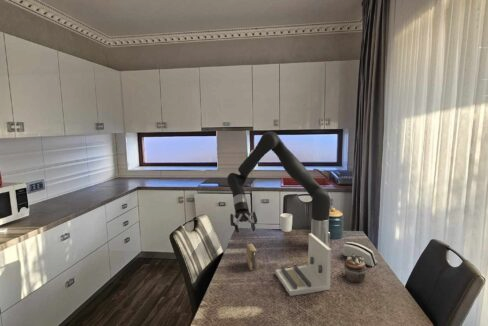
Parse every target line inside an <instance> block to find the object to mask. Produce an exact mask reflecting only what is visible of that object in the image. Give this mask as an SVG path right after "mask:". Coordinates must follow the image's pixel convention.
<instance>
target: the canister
mask: <svg viewBox="0 0 488 326" xmlns="http://www.w3.org/2000/svg"><path fill="white" fill-rule="evenodd" d="M344 219H345V217H344V215H343V213H342V211H340V210H337V209H336V208H335V207H331V208H330V213H329V232H330V240H340V239H342V238H344V237H343V236H344V224H345V222H344Z"/></svg>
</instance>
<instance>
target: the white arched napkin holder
mask: <svg viewBox="0 0 488 326" xmlns="http://www.w3.org/2000/svg"><path fill="white" fill-rule="evenodd" d="M342 254H343V256H345V257H346V256H347V257H346V258H348V257H349V256H351V255H352V254H354V255H355V256H362V258H364V260H363V261H364V263H365V265H366V264H367V266H369V265H370V267H371V266H372V268H373V266H374V267H375V265H377V264H376V263H379V262H378V260H376V256H375V253H374V251H373V250H371V249H370V248H368V247H367V246H364V245H363V244H360V243H357V242H352V241H347V242H345V244H343V245H342Z"/></svg>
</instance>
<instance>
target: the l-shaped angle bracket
mask: <svg viewBox="0 0 488 326" xmlns="http://www.w3.org/2000/svg"><path fill="white" fill-rule="evenodd" d="M307 244H308V249H307V251H308V253H307V254H308V255H307V260H308V261H307V265H300V266H297V265H295V264H294V265H293V267H289V268H288V267H286V268H285V267H284V266H281V267H280V268H279V269H275V275H276V277H277V279H278V280H279V282H280V283H281V284H282V285H283V287H284V288H285V291H286V292H287V294H289V297H292V296H299V295H305V294H310V293H311V294H312V293H316V292H323V291H324V292H325V291H329V290H331V271H332V269H331V268H332V249H331V247H330V248H329V247H328V246H326V245H325V244H324V243H323V242H322V241H320V240H319V239H318V238H317V237H315V236H314V235H313V234H312V233H311V232H310V233H308V243H307Z"/></svg>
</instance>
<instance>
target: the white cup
mask: <svg viewBox="0 0 488 326" xmlns="http://www.w3.org/2000/svg"><path fill="white" fill-rule="evenodd" d="M279 219H280V230H281V231H282V232H284V233H285V232H286V233H288V232H289V233H290V232H291V231H292V227H293V214H292V213H287V212H286V213H281V214H280V216H279Z"/></svg>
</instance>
